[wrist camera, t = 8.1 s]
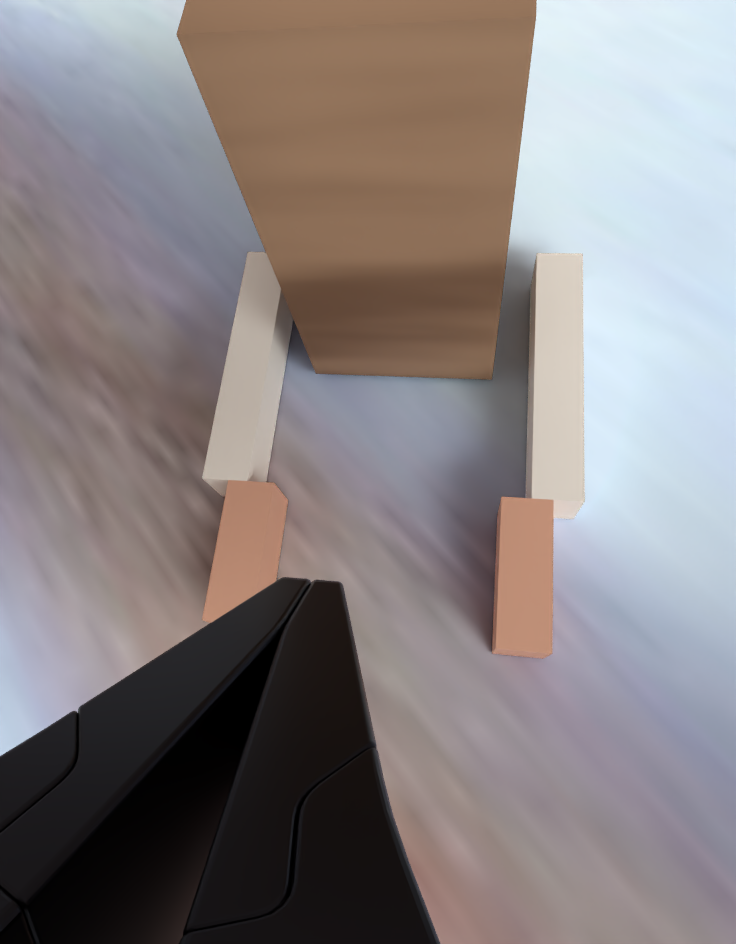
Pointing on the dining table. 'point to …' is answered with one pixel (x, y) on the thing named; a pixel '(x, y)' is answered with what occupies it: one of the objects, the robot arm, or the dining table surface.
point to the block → (375, 166)
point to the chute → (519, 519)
